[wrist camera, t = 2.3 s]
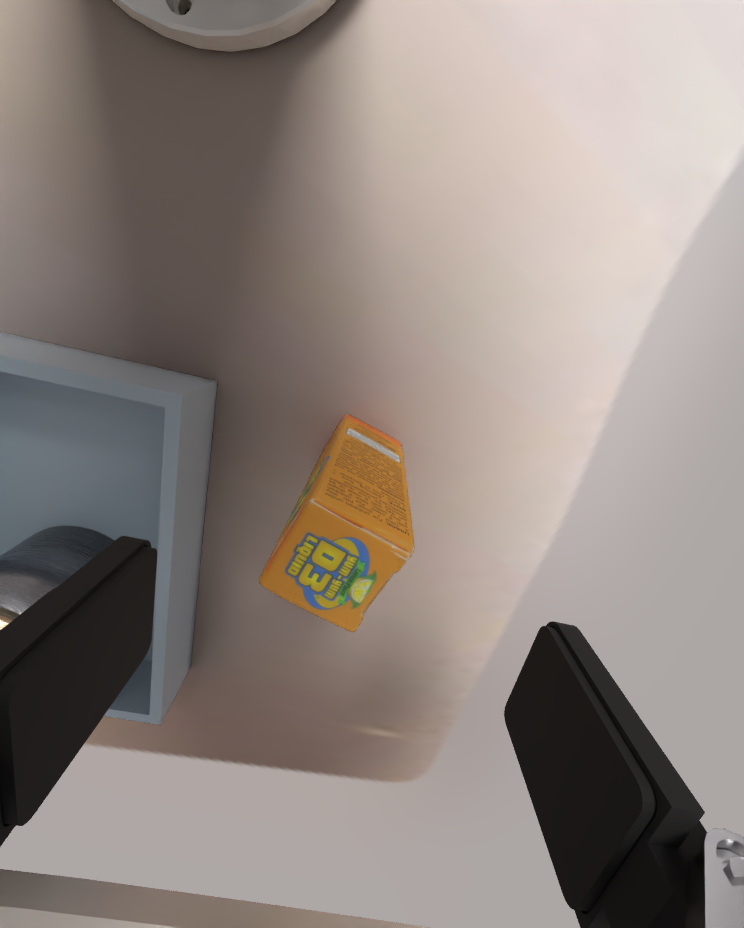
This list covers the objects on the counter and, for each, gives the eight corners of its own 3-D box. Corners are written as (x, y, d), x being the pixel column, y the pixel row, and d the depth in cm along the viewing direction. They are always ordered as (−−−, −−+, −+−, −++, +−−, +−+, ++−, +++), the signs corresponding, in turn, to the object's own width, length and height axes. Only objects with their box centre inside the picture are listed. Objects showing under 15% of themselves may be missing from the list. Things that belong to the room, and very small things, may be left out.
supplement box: (341, 406, 19) (311, 493, 10) (402, 442, 20) (430, 556, 10) (309, 462, 20) (252, 591, 11) (368, 494, 21) (364, 644, 11)
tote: (-55, 319, 18) (-160, 319, 14) (217, 380, 19) (181, 395, 15) (-14, 633, 24) (-80, 687, 20) (190, 667, 25) (160, 725, 21)
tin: (8, 511, 20) (-142, 591, 14) (152, 538, 21) (64, 627, 15) (19, 621, 23) (-106, 729, 17) (147, 643, 23) (70, 755, 17)
